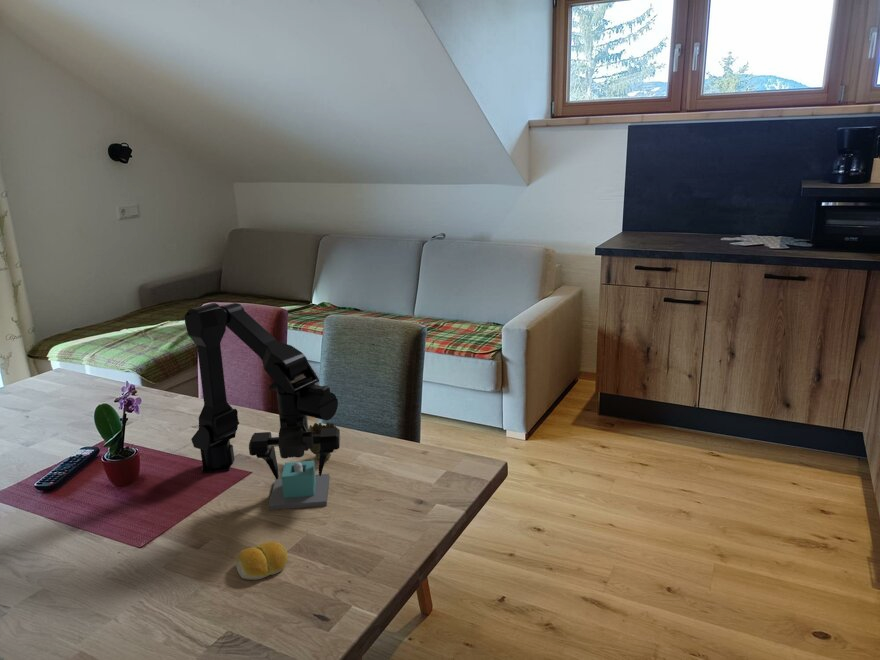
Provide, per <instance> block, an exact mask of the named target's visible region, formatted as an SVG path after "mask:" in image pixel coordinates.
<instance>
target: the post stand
mask: <svg viewBox="0 0 880 660" xmlns="http://www.w3.org/2000/svg"><path fill="white" fill-rule="evenodd" d="M296 462H297V463H295V464H294V472H303V468H302V464H301V463H300V462H301V461H296ZM315 476H316V484H315V492H314V496H301V497H289V498H284V496H283V486H282V476H280V477H278V479H276V478H274V479H275V480H274V484H273V487H272V491H271V495H270V499H269V502H268V511H272V510H273V511H274V510H286V509H298V508H299V509H300V508H310V507H313V508H314V507H324V506H327V505H328V496H329V487H330V486H329V485H330V473H322V474H321V476H319V474H315Z"/></svg>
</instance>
